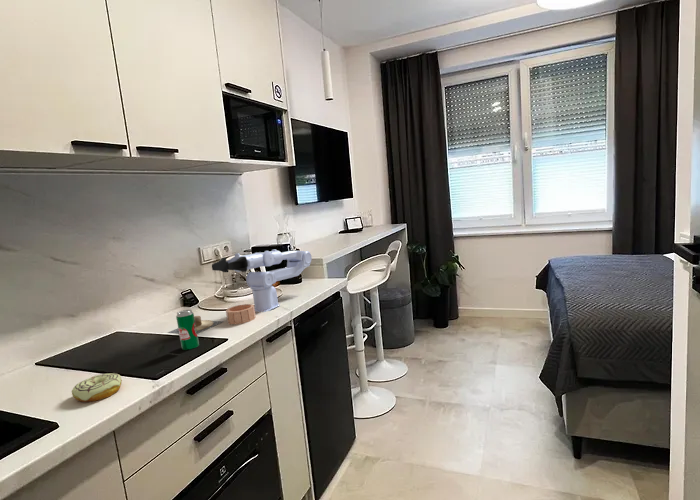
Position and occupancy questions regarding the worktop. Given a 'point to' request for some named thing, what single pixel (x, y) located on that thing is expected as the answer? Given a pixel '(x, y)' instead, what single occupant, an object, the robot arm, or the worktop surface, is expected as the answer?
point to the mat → (200, 330)
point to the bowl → (240, 314)
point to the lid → (202, 323)
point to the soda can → (187, 329)
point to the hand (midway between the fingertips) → (220, 267)
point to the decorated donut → (97, 387)
